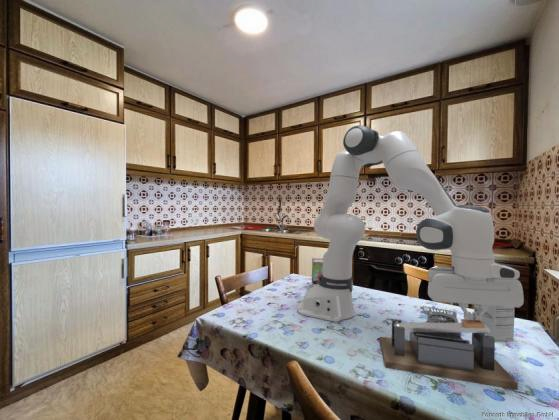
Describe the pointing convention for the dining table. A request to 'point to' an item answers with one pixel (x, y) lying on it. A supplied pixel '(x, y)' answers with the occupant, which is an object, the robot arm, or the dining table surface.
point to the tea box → (316, 269)
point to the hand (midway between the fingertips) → (472, 320)
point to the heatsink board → (444, 372)
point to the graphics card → (439, 315)
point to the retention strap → (446, 327)
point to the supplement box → (499, 322)
